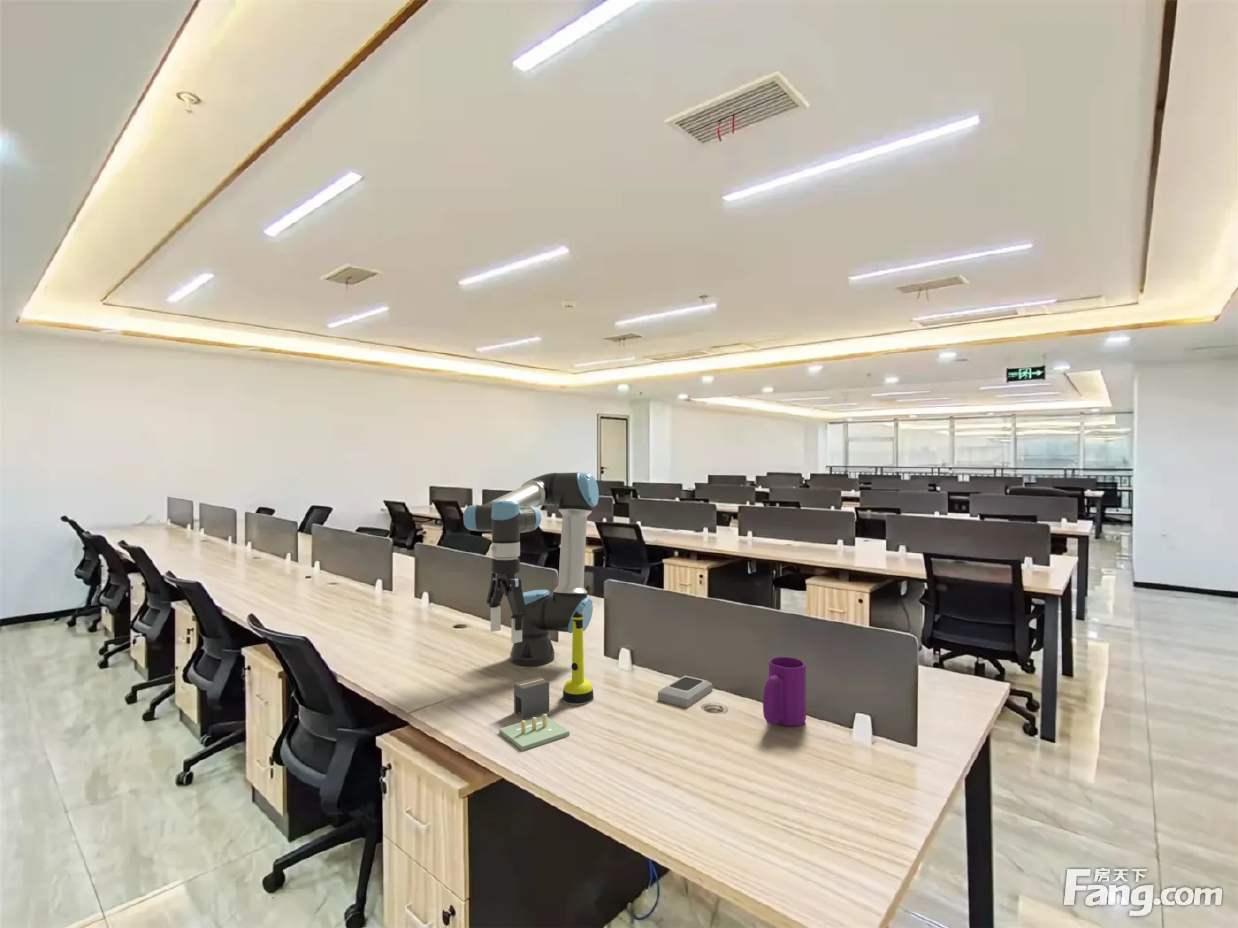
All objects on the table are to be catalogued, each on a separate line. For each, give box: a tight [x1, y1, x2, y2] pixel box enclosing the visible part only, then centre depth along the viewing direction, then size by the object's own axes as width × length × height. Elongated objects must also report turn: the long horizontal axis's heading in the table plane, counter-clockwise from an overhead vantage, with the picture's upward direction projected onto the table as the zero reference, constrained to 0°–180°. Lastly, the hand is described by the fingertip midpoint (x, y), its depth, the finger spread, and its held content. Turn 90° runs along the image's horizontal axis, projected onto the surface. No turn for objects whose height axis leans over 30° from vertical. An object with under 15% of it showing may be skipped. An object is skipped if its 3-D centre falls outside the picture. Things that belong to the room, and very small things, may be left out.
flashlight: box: [561, 611, 595, 706], centre depth 169 cm, size 25×9×9 cm
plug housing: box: [513, 676, 550, 720], centre depth 160 cm, size 8×5×8 cm, turn 128°
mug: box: [762, 656, 807, 727], centre depth 152 cm, size 9×16×15 cm, turn 136°
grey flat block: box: [657, 675, 713, 709], centre depth 171 cm, size 10×4×15 cm
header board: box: [499, 713, 570, 752], centre depth 147 cm, size 13×12×4 cm
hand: (505, 636), depth 161 cm, fingers open, 13 cm apart
